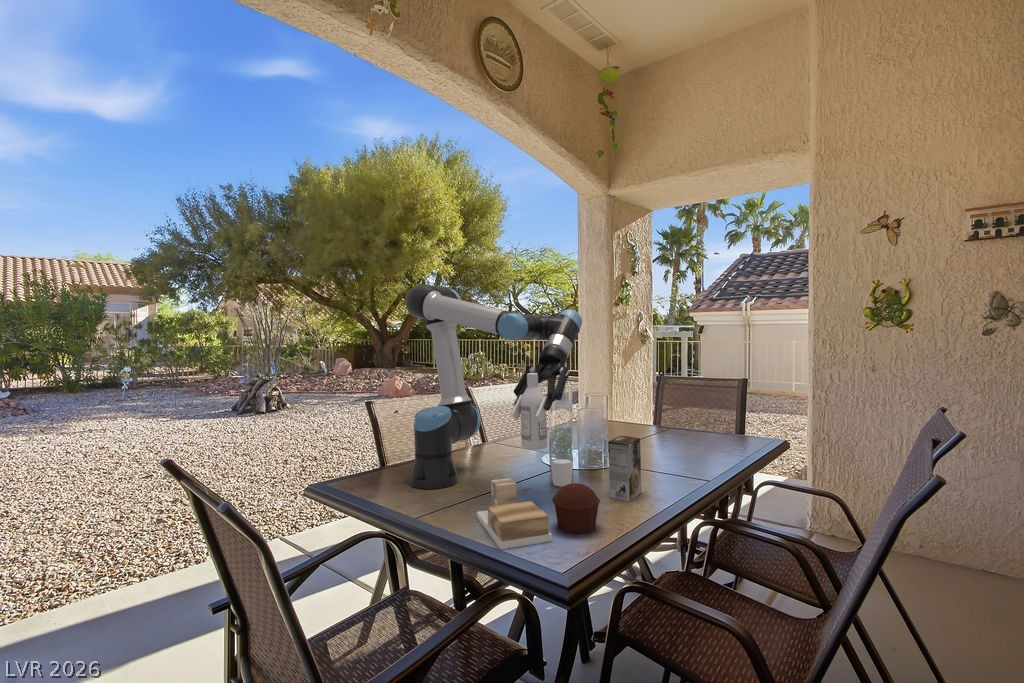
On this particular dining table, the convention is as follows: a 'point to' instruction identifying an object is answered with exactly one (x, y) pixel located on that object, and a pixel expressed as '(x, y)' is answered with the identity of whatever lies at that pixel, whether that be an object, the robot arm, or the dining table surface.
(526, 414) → the bath foam
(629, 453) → the coffee box
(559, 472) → the white cup
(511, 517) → the oak plinth
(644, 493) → the dining table surface
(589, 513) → the muffin
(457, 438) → the robot arm
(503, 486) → the beech post
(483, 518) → the base board
